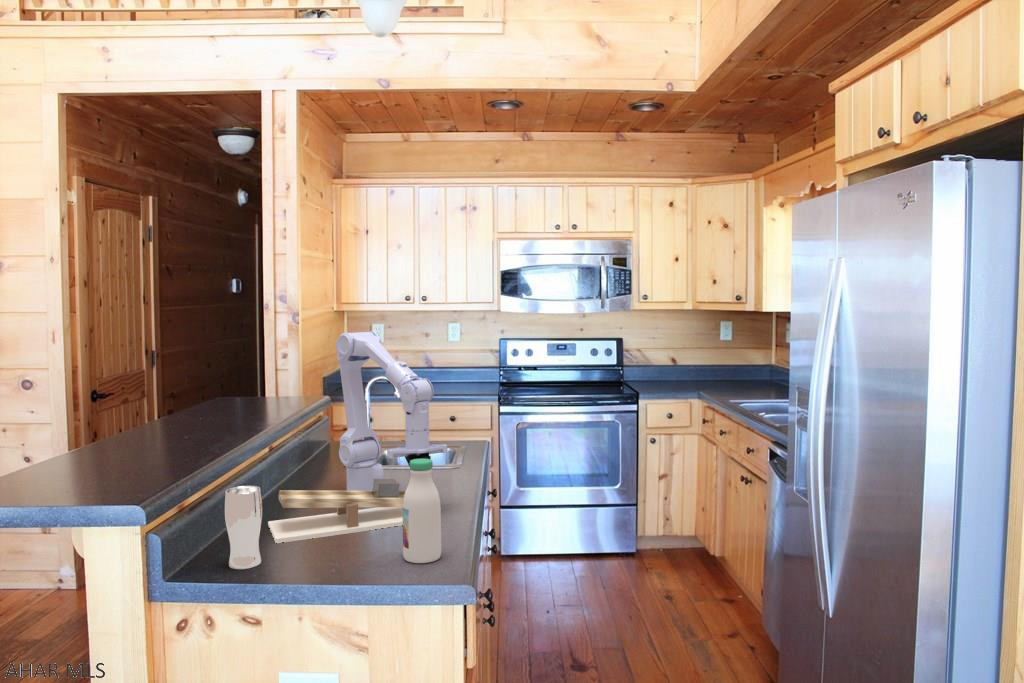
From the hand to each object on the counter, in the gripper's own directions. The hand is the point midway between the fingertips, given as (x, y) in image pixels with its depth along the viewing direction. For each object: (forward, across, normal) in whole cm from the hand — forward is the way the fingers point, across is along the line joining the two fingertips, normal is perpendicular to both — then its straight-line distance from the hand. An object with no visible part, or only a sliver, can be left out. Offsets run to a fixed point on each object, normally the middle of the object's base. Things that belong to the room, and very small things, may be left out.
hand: (418, 484), depth 177 cm
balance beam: (+2, -17, 0) cm, 17 cm away
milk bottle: (+8, -8, -29) cm, 31 cm away
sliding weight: (+2, -8, 0) cm, 9 cm away
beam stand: (+7, -17, 0) cm, 19 cm away
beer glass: (+8, -41, -17) cm, 45 cm away
